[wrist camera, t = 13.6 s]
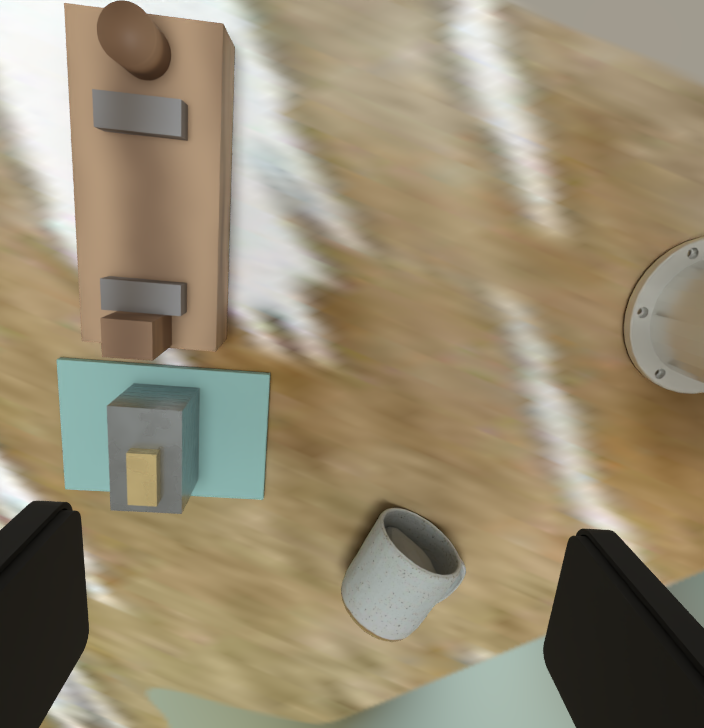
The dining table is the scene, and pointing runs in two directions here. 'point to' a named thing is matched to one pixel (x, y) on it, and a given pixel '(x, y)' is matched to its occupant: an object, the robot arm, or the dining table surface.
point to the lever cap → (153, 448)
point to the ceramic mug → (400, 575)
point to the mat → (216, 422)
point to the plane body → (150, 177)
